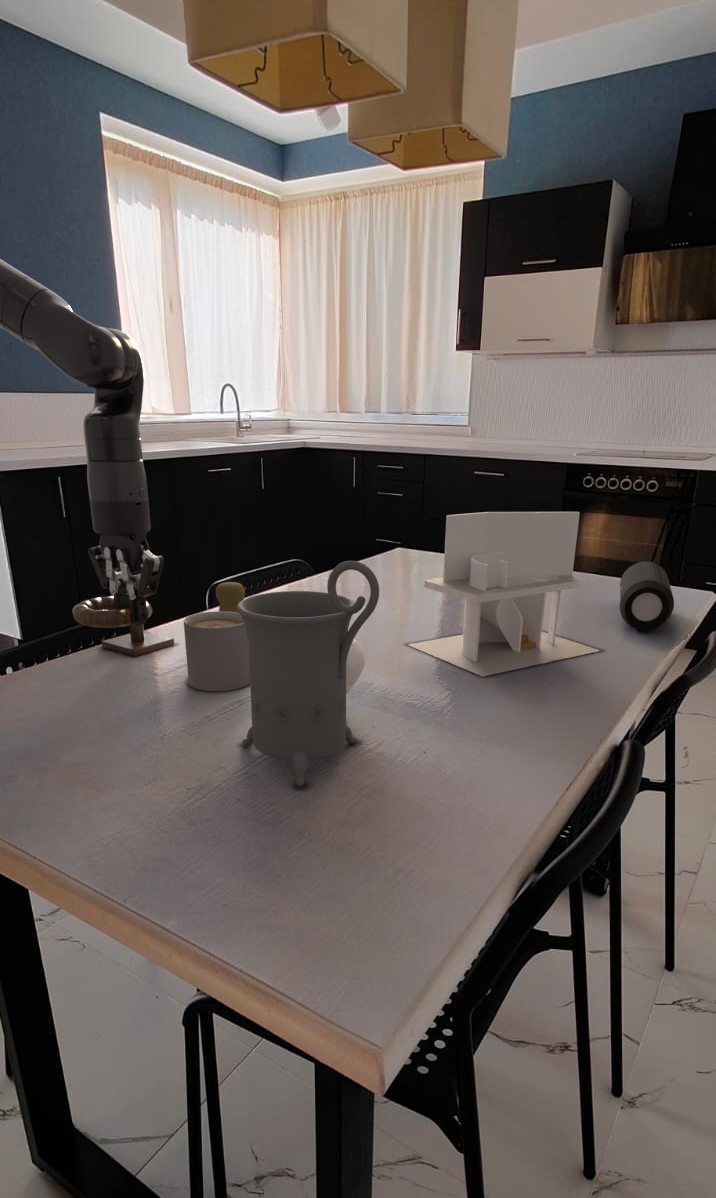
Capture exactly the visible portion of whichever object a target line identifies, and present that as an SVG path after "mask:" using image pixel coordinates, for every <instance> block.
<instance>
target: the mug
mask: <svg viewBox="0 0 716 1198" xmlns="http://www.w3.org/2000/svg"><path fill="white" fill-rule="evenodd" d="M349 570H350V571H357V572H359V573H360V574H361V575H363V576H364V577H365V579H366V580H367V582H368V584H369V585H368V586H369V588H370V589H369V590H370V595H369V599H368V602H367V604H366V606H365V603H366V598H365V597H364V596H363V595H359V596H358V597H357V598H356V601H354V600H352V599H350V598H349V597H346V596H343V595H340V594H338V593H337V583H338V579H339V577H340V576H341V575H342V574H343V573H344V572H347V571H349ZM326 587H327V592H324V591H323V592H322V591H313V590H312V591H310V590H284V591H273V592H272V591H271V592H265V593H260V594H256V595H252V596H248V597H246V598H244V599H243V600H242V601H240V602H239V604H238V605H237V610H238V612H239V613H240V615H241V617H242V618H243V621H244V624H245V627H246V632H247V638H248V648H249V667H250V684H249V685H250V686H249V688H250V704H251V705H250V706H251V707H250V708H251V709H250V710H251V726H250V728H249V729H248V731H247V733H246V738H243V739H242V741H241V742H242V744H243V746H251V745H253V747H254V748H255V749H256V750H257V751H258V752H260V753H261V754H263V755H266V756H268V757H271V758H276V759H281V760H289V761H291V765H292V769H293V773H294V776H295V781H296V785H297V786H298V787H302V786H304V783H305V776H306V771H307V768H308V763H309V760H315V759H321V758H325V757H327V756H330V755H333V754H335V753H337V752H338V751H340V750H342V749H343V748H344V746H345V745H346V743H347V744H356V743H357V738H356V736H353V733H352V730H351V728H350V726H349V725H348V724H347V694H346V661H347V656H348V653H349V649H350V647H351V644H352V642H353V640H354V639H356V638H355V637H356V636H357V634H358V632H359V631H360V629H361V628H362V626H363V625H364V624H365V622H366V621H367V620H368V619H369V618H370V617H371V616H372V614H373V613H374V611H375V609H376V607H377V605H378V602H379V599H380V585H379V582H378V579H377V576H376V575H375V573H374V571H373V570H372V569H371V568H370V567H368V566H367V565H366V564H365V563H362V562H360V561H357V560H344V561H343V562H340V563H339V564H337V565H336V566H335V567H334V568H333V569H332V571H330V574H329V576H328V579H327V586H326ZM364 606H365V607H364ZM363 607H364V609H363ZM361 610H362V611H361ZM360 611H361V613H359V612H360ZM357 613H359V615H358V616H357V618H356V619H355V620H354V621H353V623H352V624H351V626H350V622H351V620H352V617H353V615H354V614H357ZM349 627H350V628H349Z"/></svg>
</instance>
